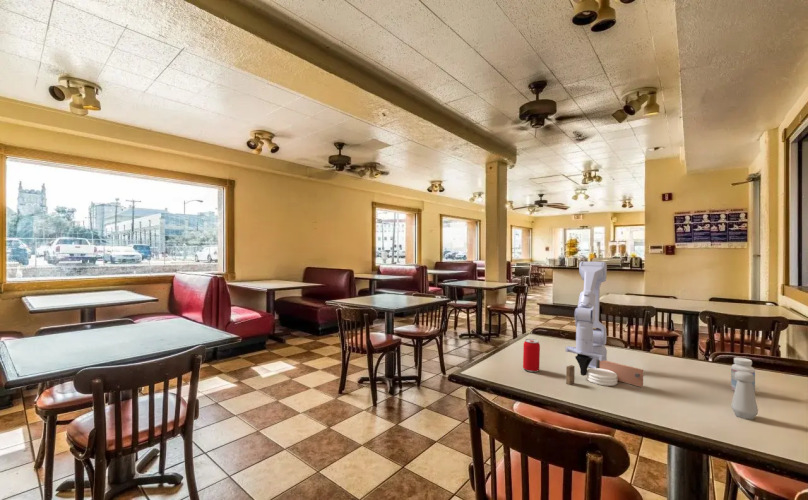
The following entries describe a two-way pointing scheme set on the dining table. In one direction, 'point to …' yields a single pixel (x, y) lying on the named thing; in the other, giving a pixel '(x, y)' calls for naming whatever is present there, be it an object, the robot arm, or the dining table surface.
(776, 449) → the dining table surface
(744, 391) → the salt shaker
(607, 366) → the door
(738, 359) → the pill bottle
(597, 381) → the white short cylinder
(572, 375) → the wall frame
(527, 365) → the beverage can
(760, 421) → the dining table surface
